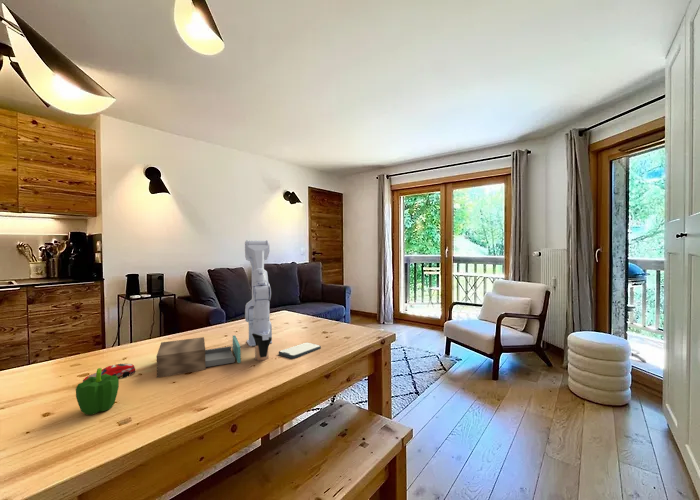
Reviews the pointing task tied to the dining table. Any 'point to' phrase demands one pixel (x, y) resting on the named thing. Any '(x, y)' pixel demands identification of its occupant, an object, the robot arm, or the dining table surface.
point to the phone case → (299, 350)
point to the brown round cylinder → (257, 355)
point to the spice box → (181, 357)
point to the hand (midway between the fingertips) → (261, 354)
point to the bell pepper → (97, 393)
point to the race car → (116, 371)
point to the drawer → (223, 354)
